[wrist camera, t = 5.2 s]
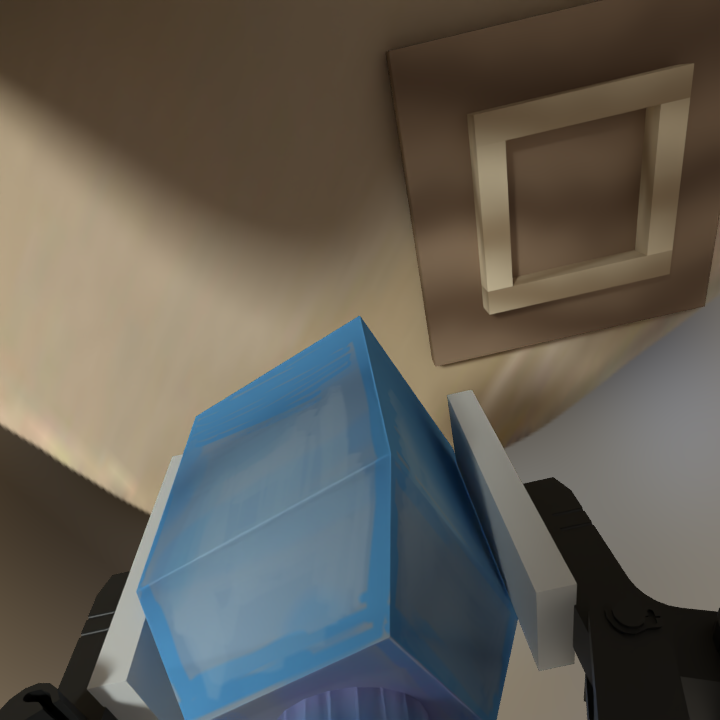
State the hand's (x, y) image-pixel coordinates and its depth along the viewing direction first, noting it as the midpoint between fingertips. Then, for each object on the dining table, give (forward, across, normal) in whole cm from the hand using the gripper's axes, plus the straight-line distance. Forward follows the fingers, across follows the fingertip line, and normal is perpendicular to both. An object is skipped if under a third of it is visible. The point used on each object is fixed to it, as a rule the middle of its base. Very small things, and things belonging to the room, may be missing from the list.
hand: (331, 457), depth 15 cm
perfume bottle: (+1, 0, 0) cm, 1 cm away
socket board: (+16, +15, +2) cm, 22 cm away
